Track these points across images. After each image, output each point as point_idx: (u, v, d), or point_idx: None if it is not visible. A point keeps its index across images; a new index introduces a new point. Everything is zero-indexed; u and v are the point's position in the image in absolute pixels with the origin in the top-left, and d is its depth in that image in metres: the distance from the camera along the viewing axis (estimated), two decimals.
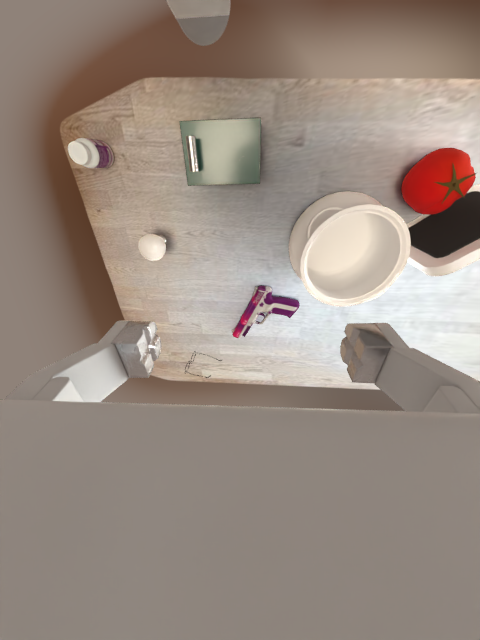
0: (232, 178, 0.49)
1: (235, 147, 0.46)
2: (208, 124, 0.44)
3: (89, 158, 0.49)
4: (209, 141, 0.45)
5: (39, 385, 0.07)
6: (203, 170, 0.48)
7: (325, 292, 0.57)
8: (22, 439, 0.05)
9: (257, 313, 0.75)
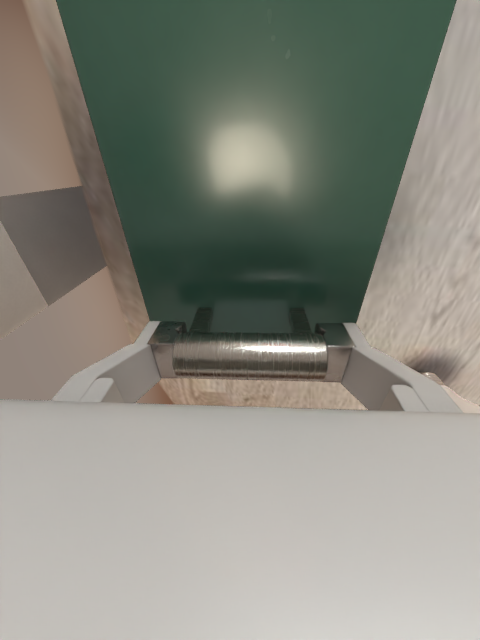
0: (384, 121, 0.07)
1: (220, 96, 0.07)
2: (144, 255, 0.10)
3: None
4: (202, 255, 0.10)
5: (84, 386, 0.07)
6: (307, 291, 0.11)
7: None
8: (22, 439, 0.05)
9: None
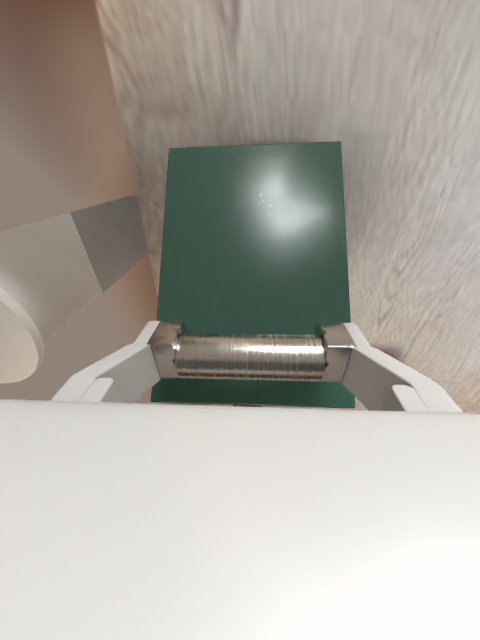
0: (326, 229, 0.13)
1: (236, 219, 0.14)
2: (169, 301, 0.13)
3: None
4: (214, 302, 0.13)
5: (83, 386, 0.07)
6: (300, 334, 0.12)
7: None
8: (22, 439, 0.05)
9: None
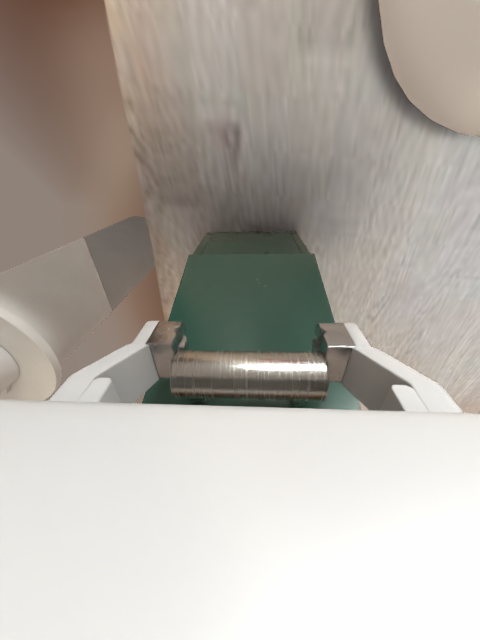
0: (312, 301, 0.16)
1: (237, 293, 0.16)
2: None
3: None
4: None
5: (81, 386, 0.07)
6: None
7: None
8: (22, 439, 0.05)
9: None
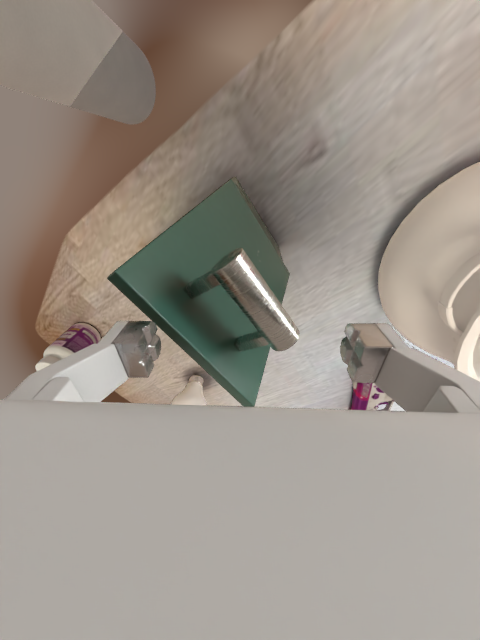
0: None
1: (244, 246, 0.19)
2: (185, 231, 0.14)
3: None
4: (212, 266, 0.15)
5: (39, 385, 0.07)
6: None
7: None
8: (22, 439, 0.05)
9: (373, 407, 0.46)
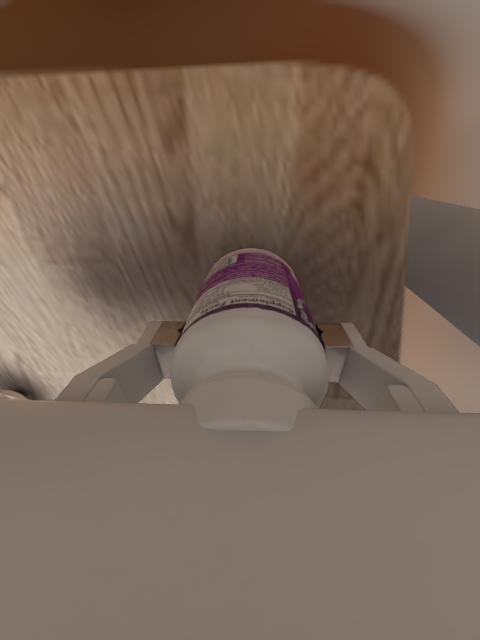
0: None
1: None
2: None
3: None
4: None
5: (87, 386, 0.07)
6: None
7: None
8: (22, 439, 0.05)
9: None
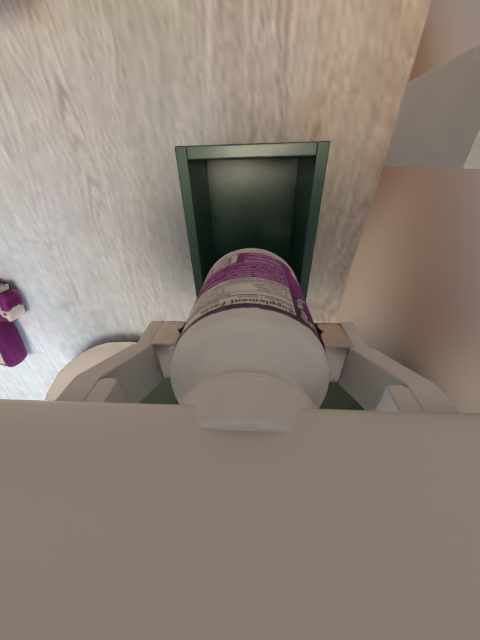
0: None
1: None
2: None
3: None
4: None
5: (87, 386, 0.07)
6: None
7: None
8: (22, 439, 0.05)
9: None
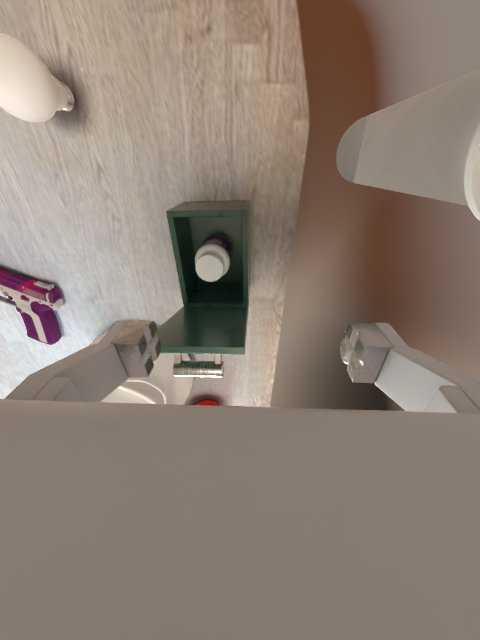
0: None
1: None
2: None
3: None
4: None
5: (39, 385, 0.07)
6: None
7: None
8: (22, 439, 0.05)
9: (6, 292, 0.45)
